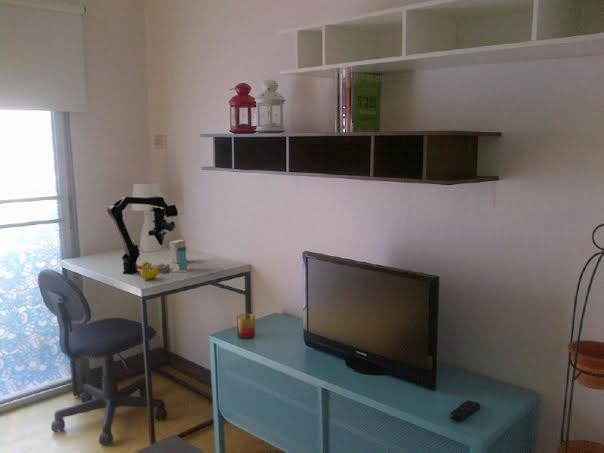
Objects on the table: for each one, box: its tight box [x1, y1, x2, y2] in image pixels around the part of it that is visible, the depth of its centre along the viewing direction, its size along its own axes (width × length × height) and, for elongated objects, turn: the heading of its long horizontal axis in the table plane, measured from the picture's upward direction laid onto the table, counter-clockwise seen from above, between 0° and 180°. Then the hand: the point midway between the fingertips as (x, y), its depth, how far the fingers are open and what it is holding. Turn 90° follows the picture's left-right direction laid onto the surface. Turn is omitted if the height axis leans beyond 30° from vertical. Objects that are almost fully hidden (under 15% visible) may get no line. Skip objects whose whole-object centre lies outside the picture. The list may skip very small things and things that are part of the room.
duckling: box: [136, 260, 159, 281], centre depth 293 cm, size 11×5×10 cm, turn 123°
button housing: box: [149, 263, 171, 274], centre depth 311 cm, size 8×8×3 cm
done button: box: [155, 262, 165, 267], centre depth 311 cm, size 4×4×3 cm
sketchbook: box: [167, 266, 193, 273], centre depth 313 cm, size 11×10×1 cm
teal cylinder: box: [178, 246, 188, 270], centre depth 312 cm, size 4×4×13 cm
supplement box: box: [169, 239, 187, 265], centre depth 331 cm, size 8×5×13 cm, turn 145°
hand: (161, 244), depth 319 cm, fingers closed
